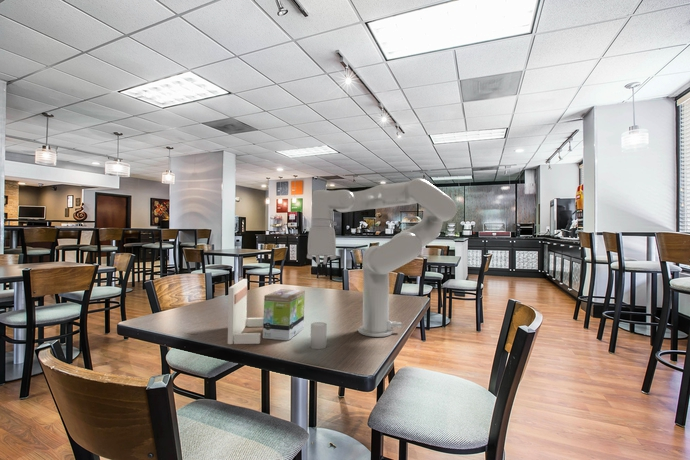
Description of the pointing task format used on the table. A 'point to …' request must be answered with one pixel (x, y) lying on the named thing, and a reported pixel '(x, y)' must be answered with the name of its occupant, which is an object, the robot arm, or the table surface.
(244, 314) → the display stand
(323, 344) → the white cylinder
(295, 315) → the tea box
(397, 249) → the robot arm
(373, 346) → the table surface
